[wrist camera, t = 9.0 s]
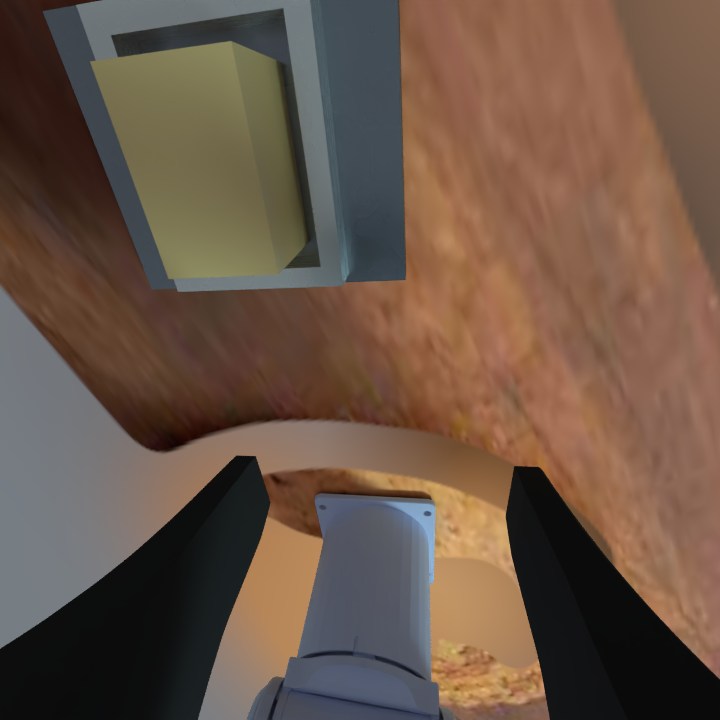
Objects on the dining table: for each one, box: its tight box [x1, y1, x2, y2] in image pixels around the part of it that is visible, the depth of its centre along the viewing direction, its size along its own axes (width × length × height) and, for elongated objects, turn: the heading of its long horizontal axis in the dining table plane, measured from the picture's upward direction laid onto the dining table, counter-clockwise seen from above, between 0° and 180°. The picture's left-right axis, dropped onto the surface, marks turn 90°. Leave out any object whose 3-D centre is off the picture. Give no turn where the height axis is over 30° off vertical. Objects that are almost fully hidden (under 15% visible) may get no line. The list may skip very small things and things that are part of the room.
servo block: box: [90, 41, 308, 279], centre depth 13 cm, size 6×4×4 cm, turn 5°
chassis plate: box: [43, 0, 406, 292], centre depth 14 cm, size 10×12×2 cm
